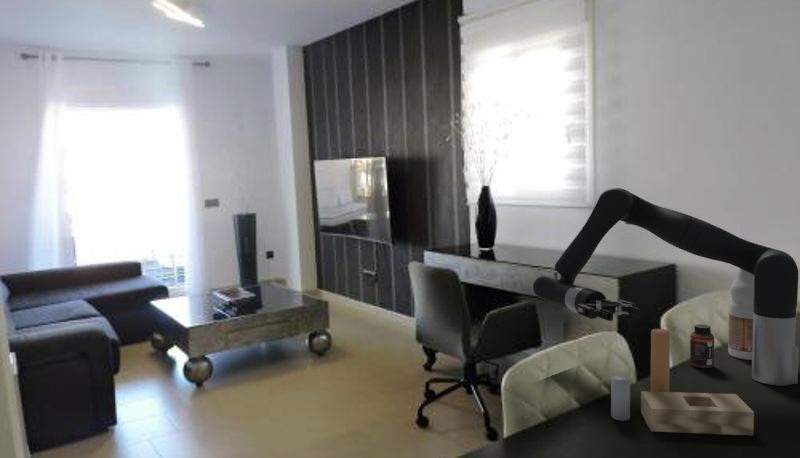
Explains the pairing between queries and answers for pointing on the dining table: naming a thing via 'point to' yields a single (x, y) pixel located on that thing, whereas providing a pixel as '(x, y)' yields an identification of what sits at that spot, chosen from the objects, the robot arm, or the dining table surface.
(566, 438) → the dining table surface
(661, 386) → the long dowel
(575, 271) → the robot arm
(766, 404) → the dining table surface
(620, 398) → the short dowel
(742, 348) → the white plastic bottle
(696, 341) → the supplement bottle
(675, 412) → the wooden block with hole
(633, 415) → the dining table surface
